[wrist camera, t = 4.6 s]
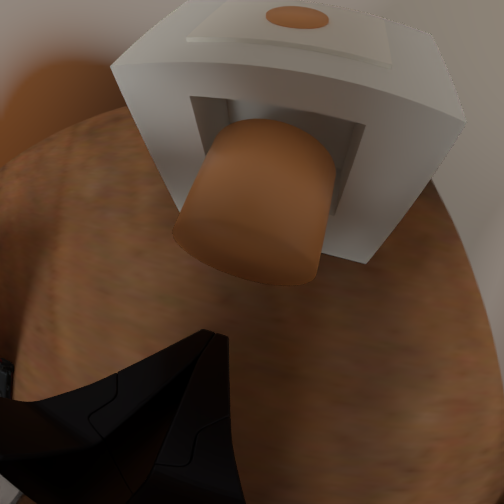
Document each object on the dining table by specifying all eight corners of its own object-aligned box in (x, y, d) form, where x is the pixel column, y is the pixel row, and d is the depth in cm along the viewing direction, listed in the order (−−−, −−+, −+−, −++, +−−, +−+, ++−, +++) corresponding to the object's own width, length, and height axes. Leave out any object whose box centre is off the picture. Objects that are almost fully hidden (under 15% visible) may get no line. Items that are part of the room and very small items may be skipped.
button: (306, 295, 12) (330, 245, 7) (191, 264, 13) (151, 203, 8) (324, 211, 13) (347, 135, 9) (221, 188, 14) (202, 110, 10)
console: (365, 264, 18) (471, 115, 6) (183, 219, 19) (107, 60, 8) (375, 176, 20) (433, 29, 9) (218, 142, 22) (189, -6, 10)
